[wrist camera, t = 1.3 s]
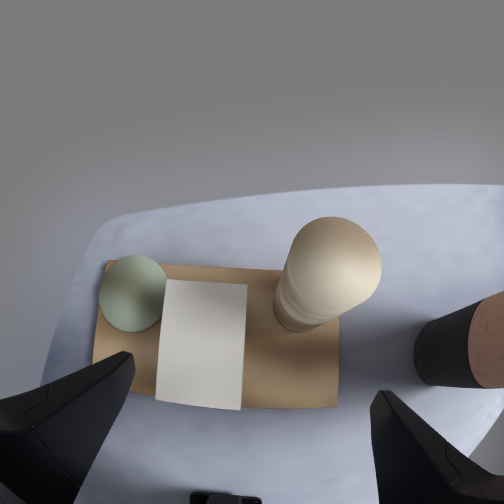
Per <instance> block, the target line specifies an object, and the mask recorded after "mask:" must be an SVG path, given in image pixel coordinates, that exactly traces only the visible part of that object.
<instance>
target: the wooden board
mask: <svg viewBox="0 0 504 504" xmlns="http://www.w3.org/2000/svg"><path fill="white" fill-rule="evenodd" d="M282 272H283V271H280V270H260V269H241V268H222V267H205V266H189V265H173V264H158V263H156V262H155V261H154V260H152V259H151V258H148V257H146V256H142V255H131V256H127V257H124V258H122V259H120V260H118V261H115V260H108V261H107V266H106V270H105V275H104V277H103V279H102V282H101V285H100V289H99V310H98V316H97V324H96V332H95V340H94V350H93V362H92V364H94V363H96V362H98V361H101V360H103V359H105V358H107V357H109V356H112V355H114V354H116V353H118V352H120V351H127V352H130V353H132V354H133V355H134V361H135V367H136V373H135V377H134V379H133V381H132V384H131V386H130V389H129V391H131V392H136V393H140V394H145V395H150V396H155V397H156V380H157V365H158V353H159V342H160V332H161V322H162V313H163V305H164V297H165V290H166V283H167V279H171V280H185V281H199V282H214V283H230V284H248V299H247V316H246V333H245V350H244V368H243V385H242V403H241V407H247V408H277V409H294V408H324V407H337V400H338V381H339V343H340V320H339V316H337V317H336V318H334V319H332V320H330V321H328V322H326V323H324V324H322V325H320V326H318V327H317V328H315V329H313V330H310V331H307V332H294V331H291V330H288V329H286V328H285V327H283V326H282V325H281V324H280V323H279V322H278V320H277V319H276V317H275V315H274V312H273V298H274V295H275V292H276V289H277V286H278V283H279V281H280V278H281V275H282Z"/></svg>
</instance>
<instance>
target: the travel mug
mask: <svg viewBox="0 0 504 504" xmlns="http://www.w3.org/2000/svg"><path fill="white" fill-rule="evenodd" d="M414 363H415V368H416V370H417V373H418V375H419V376H420V378H421V379H422V380H423V381H425V382H426V383H428V384H431V385H436V386H446V387H460V388H482V389H495V388H504V291H502V292H499V293H497V294H495V295H492V296H490V297H487V298H485V299H483V300H481V301H479V302H476V303H474V304H472V305H470V306H467V307H465V308H463V309H460V310H458V311H455V312H453V313H450V314H448V315H445V316H443V317H440V318H438V319H436V320H433V321H431V322H430V323H428V324H427V325H426V326H425V327H424V328H423V329H422V331H421V332H420V334H419V336H418V338H417V340H416V344H415V348H414Z"/></svg>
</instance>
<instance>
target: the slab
mask: <svg viewBox="0 0 504 504" xmlns="http://www.w3.org/2000/svg"><path fill="white" fill-rule="evenodd" d="M247 299H248V284H230V283H214V282H199V281H185V280H171V279H167V283H166V290H165V297H164V305H163V313H162V322H161V332H160V342H159V353H158V365H157V380H156V399H155V400H161V401H166V402H172V403H179V404H185V405H192V406H200V407H209V408H219V409H230V410H241V403H242V385H243V368H244V350H245V333H246V316H247Z"/></svg>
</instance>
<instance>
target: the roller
mask: <svg viewBox="0 0 504 504" xmlns="http://www.w3.org/2000/svg"><path fill="white" fill-rule="evenodd" d="M380 276H381V258H380V254H379V251H378V248H377V246H376V244H375V242H374V241H373V239H372V238H371V237H370V235H369V234H368V233H367V232H366V231H365V230H364V229H363V228H361V227H360V226H359V225H357V224H355V223H353V222H352V221H349V220H347V219H343V218H338V217H323V218H319V219H316V220H314V221H312V222H310V223H308V224H307V225H305V226H304V227H303V228H302V229H301V230H300V231H299V232H298V234H297V235H296V237H295V238H294V240H293V243H292V246H291V249H290V252H289V255H288V257H287V260H286V263H285V266H284V269H283V272H282V275H281V278H280V281H279V283H278V286H277V289H276V292H275V295H274V298H273V312H274V315H275V317H276V319H277V320H278V322H279V323H280V324H281V325H282V326H283V327H285V328H286V329H288V330H291V331H294V332H307V331H310V330H313V329H315V328H317V327H318V326H320V325H322V324H324V323H326V322H328V321H330V320H332V319H334V318H336V317H337V316H339V315H341V314H343V313H345V312H347V311H348V310H350V309H352V308H354V307H356V306H357V305H359V304H361V303H363V302H364V301H365V300H367V299H368V298H369V297H370V296H371V295H372V294H373V292H374V291H375V289H376V287H377V285H378V283H379V280H380Z"/></svg>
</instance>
